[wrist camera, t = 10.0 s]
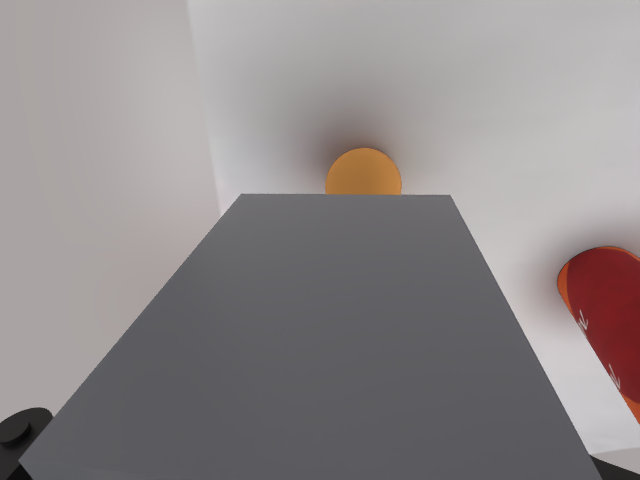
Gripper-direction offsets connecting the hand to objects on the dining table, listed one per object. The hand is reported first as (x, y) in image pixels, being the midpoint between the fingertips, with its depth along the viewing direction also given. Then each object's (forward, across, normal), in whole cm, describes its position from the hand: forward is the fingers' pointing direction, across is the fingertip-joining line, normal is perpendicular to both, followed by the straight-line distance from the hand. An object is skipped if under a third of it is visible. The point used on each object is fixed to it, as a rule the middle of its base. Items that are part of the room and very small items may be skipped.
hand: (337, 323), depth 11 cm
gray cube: (+2, 0, 0) cm, 2 cm away
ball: (+14, -1, +1) cm, 14 cm away
